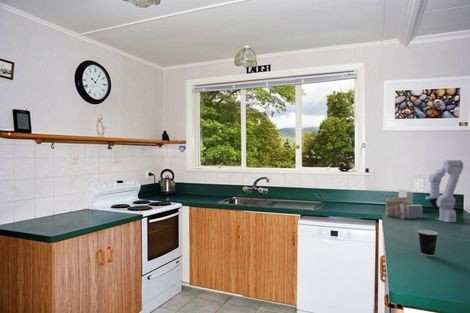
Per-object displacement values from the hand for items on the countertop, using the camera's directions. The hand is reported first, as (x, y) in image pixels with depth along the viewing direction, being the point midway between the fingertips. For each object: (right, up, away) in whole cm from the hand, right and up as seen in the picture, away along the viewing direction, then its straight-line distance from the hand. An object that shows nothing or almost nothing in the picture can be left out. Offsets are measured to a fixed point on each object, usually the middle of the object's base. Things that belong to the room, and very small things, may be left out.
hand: (434, 208), depth 233 cm
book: (-18, -6, -3) cm, 19 cm away
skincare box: (-5, -6, +31) cm, 32 cm away
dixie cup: (-61, -7, -89) cm, 109 cm away
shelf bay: (-27, -6, -4) cm, 28 cm away
